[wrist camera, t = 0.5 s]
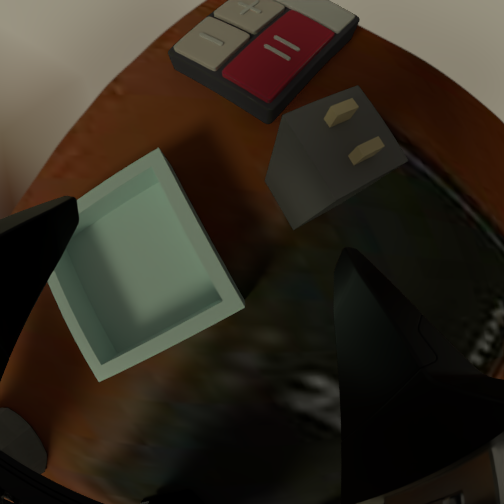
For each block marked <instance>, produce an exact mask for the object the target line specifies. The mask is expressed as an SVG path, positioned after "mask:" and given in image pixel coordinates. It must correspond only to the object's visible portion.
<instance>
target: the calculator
mask: <svg viewBox="0 0 504 504" xmlns="http://www.w3.org/2000/svg"><path fill="white" fill-rule="evenodd" d="M358 22H359V17H357V16H356V15H354V14H353V13H351V12H349V11H347V10H346V9H344V8H342V7H340V6H339V5H337V4H335V3H333V2H331V1H329V0H228V1H227V2H225V3H224V4H223V5H221V6H220V7H219V8H217V9H216V10H215V11H214V12H212V13H211V14H210V15H209V16H207V17H206V18H205V19H204V20H202V21H201V22H200V23H199V24H198V25H196V26H195V27H194V28H193V29H192V30H191V31H189V32H188V33H187V34H186V35H185V36H184V37H183V38H182V39H180V40H179V41H178V42H177V43H176V44H175V45H174V46H173V47H172V48H171V49H170V50H169V51H168V54H169V57H170V59H171V62H172V64H173V66H174V69H175V70H177V71H179V72H181V73H183V74H184V75H186V76H188V77H190V78H192V79H194V80H195V81H197V82H199V83H201V84H202V85H204V86H206V87H208V88H209V89H211V90H213V91H214V92H216V93H218V94H219V95H221V96H223V97H224V98H226V99H228V100H229V101H231V102H233V103H234V104H236V105H237V106H239V107H241V108H242V109H244V110H245V111H247V112H248V113H250V114H252V115H253V116H255V117H256V118H258V119H259V120H261V121H262V122H264V123H266V124H270V123H272V122H273V121H274V120H275V119H276V118H277V117H278V115H279V114H280V113H281V112H282V111H283V110H284V109H285V108H286V106H287V105H288V104H289V103H290V102H291V101H292V100H293V99H294V98H295V96H296V95H297V94H298V93H299V92H300V91H301V90H302V89H303V88H304V86H305V85H306V84H307V83H308V82H309V81H310V80H311V79H312V78H313V77H314V76H315V74H316V73H317V72H318V71H319V70H320V69H321V68H322V67H323V66H324V65H325V64H326V63H327V62H328V61H329V60H330V58H331V57H332V56H334V55H335V54H336V53H337V52H338V51H339V50H340V49H341V48H342V47H343V46H344V45H345V44H346V43H347V42H348V41H349V40H350V39H351V38H352V36H353V33H354V31H355V29H356V27H357V25H358Z"/></svg>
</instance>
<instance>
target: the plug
mask: <svg viewBox="0 0 504 504" xmlns="http://www.w3.org/2000/svg"><path fill="white" fill-rule="evenodd" d="M407 161H408V159H407V158H406V156H405V154H404V153H403V151H402V149H401V148H400V146H399V144H398V143H397V141H396V139H395V138H394V136H393V135H392V133H391V132H390V130H389V128H388V127H387V125H386V124H385V122H384V121H383V119H382V118H381V116H380V115H379V113H378V112H377V111H376V109H375V108H374V106H373V105H372V103H371V102H370V101H369V99H368V98H367V97H366V95H365V94H364V92H363V91H362V90H361V88H360V87H359V86H355V87H352V88H349V89H346V90H344V91H341V92H338V93H336V94H333V95H330V96H328V97H325V98H323V99H320V100H317V101H315V102H312V103H310V104H307V105H305V106H303V107H300V108H298V109H295V110H293V111H291V112H288V113H286V114H284V115H282V119H281V122H280V126H279V130H278V133H277V137H276V141H275V145H274V148H273V152H272V156H271V159H270V163H269V167H268V171H267V174H266V178H265V182H266V184H267V185H268V187H269V189H270V191H271V192H272V194H273V196H274V197H275V199H276V201H277V203H278V204H279V206H280V208H281V210H282V211H283V213H284V215H285V217H286V218H287V220H288V222H289V224H290V225H291V227H292V229H293V230H294V229H296V228H298V227H300V226H302V225H303V224H305V223H307V222H309V221H311V220H312V219H314V218H316V217H318V216H320V215H321V214H323V213H325V212H327V211H328V210H330V209H332V208H334V207H336V206H337V205H339V204H341V203H342V202H344V201H346V200H347V199H349V198H350V197H352V196H354V195H355V194H357V193H358V192H360V191H361V190H363V189H365V188H366V187H368V186H369V185H371V184H372V183H374V182H376V181H377V180H379V179H380V178H382V177H384V176H385V175H387V174H388V173H390V172H391V171H393V170H395V169H396V168H398V167H399V166H401V165H402V164H404V163H405V162H407Z"/></svg>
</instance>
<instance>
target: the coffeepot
mask: <svg viewBox="0 0 504 504" xmlns="http://www.w3.org/2000/svg"><path fill="white" fill-rule="evenodd" d="M0 450H1V451H3V452H4V453H6V454H7V455H9V456H10V457H12V458H14V459H15V460H17V461H18V462H20V463H22V464H23V465H25V466H27V467H28V468H30V469H32V470H33V471H35V472H37V473H39V474H42V473H43V472H45V467H46V463H47V453H46V451H45V449H44V446H43V444H42V442H41V440H40V439H39V437H38V436H37V434H36V433H35V431H34V430H33V429H32V427H31V426H30V425H29V424H28V423H27V422H26V421H25V420H24V419H23V418H22V417H21V416H20V415H18V414H17V413H16V412H14V411H12V410H10V409H9V408H0ZM1 498H3V499H4V497H3V496H1Z"/></svg>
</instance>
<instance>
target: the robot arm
mask: <svg viewBox="0 0 504 504" xmlns="http://www.w3.org/2000/svg"><path fill="white" fill-rule="evenodd" d="M78 224H79V213H78V205H77V200H76V198H75V197H70V196H64V197H60V198H57V199H54V200H52V201H49V202H46V203H43V204H40V205H37V206H34V207H32V208H29V209H26V210H23V211H21V212H18V213H16V214H13V215H10V216H8V217H6V218H3V219H0V381H1V378H2V376H3V373H4V370H5V368H6V366H7V363H8V361H9V358H10V355H11V353H12V351H13V349H14V346H15V344H16V342H17V340H18V337H19V335H20V333H21V331H22V329H23V327H24V325H25V323H26V321H27V319H28V317H29V315H30V313H31V311H32V309H33V307H34V305H35V303H36V301H37V299H38V297H39V296H40V294H41V292H42V290H43V288H44V286H45V285H46V283H47V281H48V279H49V278H50V276H51V274H52V272H53V271H54V269H55V267H56V266H57V264H58V262H59V261H60V259H61V257H62V255H63V253H64V251H65V249H66V247H67V245H68V243H69V241H70V239H71V237H72V235H73V234H74V232H75V230H76V228H77V226H78ZM334 324H335V335H336V346H337V359H338V373H339V390H340V411H341V440H342V442H341V459H342V474H341V504H383V503H384V504H504V380H502V379H496V378H492V377H489V376H487V375H485V374H483V373H481V372H480V371H479V370H478V369H476V368H475V367H474V366H473V365H472V364H471V363H470V362H469V361H468V360H467V359H466V358H465V357H464V356H463V355H462V354H461V353H460V352H459V351H458V350H457V349H456V348H455V347H454V346H453V345H452V344H451V343H450V342H449V341H448V340H447V339H446V338H445V337H444V336H443V335H442V334H441V333H440V332H439V331H438V330H437V329H436V328H435V327H434V326H433V325H432V324H431V323H430V322H429V321H428V320H427V319H426V318H425V317H424V315H421V312H420V311H419V310H418V309H417V308H416V307H415V306H414V305H413V304H412V303H411V302H410V301H409V300H408V299H407V298H406V297H405V296H404V295H403V294H402V293H401V292H400V291H399V290H398V289H397V288H396V287H395V286H394V285H393V284H392V283H391V282H390V281H389V280H388V279H387V278H386V277H385V276H384V275H383V274H382V273H381V272H380V271H379V270H378V269H377V268H376V267H375V266H374V265H373V264H372V263H371V262H370V261H369V260H368V259H367V258H366V257H365V256H364V255H363V254H361V253H360V252H359V251H358V250H357V249H355V248H350V247H345V248H343V250H342V252H341V255H340V257H339V259H338V262H337V264H336V267H335V271H334ZM188 494H190V495H188ZM1 496H3V497H5V498H7V499H9V500H11V501H13V502H14V503H12V502H10V501H8V500H6V499H3V498H1ZM0 504H103V503H101V502H98V501H96V500H93V499H91V498H88V497H86V496H84V495H81V494H79V493H77V492H75V491H72V490H70V489H68V488H66V487H64V486H62V485H60V484H58V483H56V482H54V481H52V480H50V479H48V478H46V477H44V476H42V475H41V474H39V473H37V472H35V471H33V470H32V469H30V468H28V467H27V466H25V465H23V464H22V463H20V462H18V461H17V460H15V459H14V458H12V457H10V456H9V455H7V454H6V453H4V452H3V451H1V450H0ZM141 504H205V503H204V502H203V501H202V500H201V499H200V498H199V497H198V496H197V495H196V494H195V493H194V492H193V491H191V490H184V491H180V492H176V493H172V494H167V495H163V496H159V497H154V498H150V499H147V500H142V501H141Z"/></svg>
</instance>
